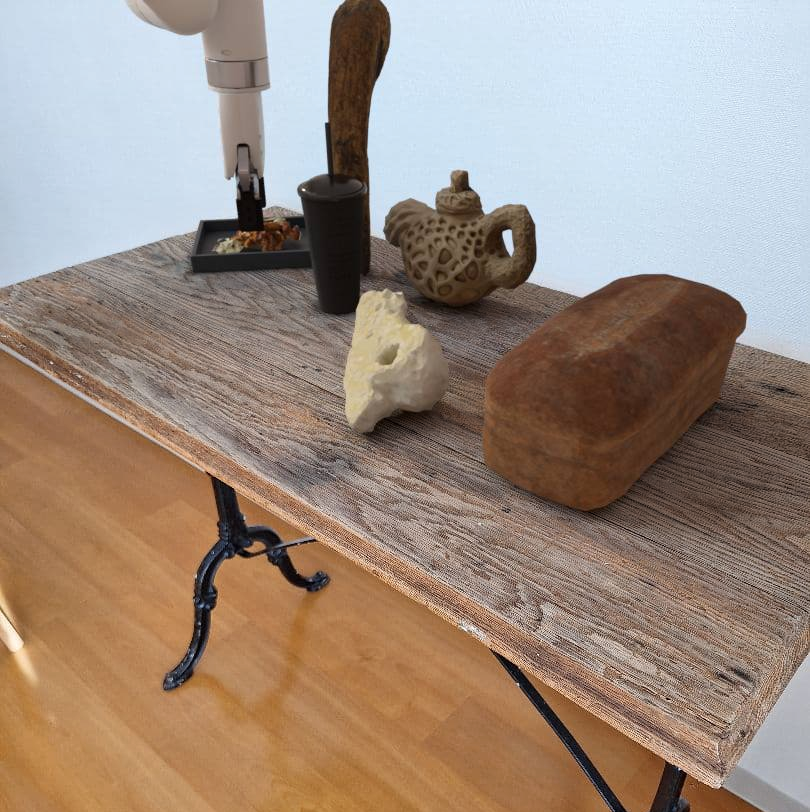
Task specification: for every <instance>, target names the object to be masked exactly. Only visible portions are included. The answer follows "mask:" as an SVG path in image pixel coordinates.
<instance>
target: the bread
mask: <svg viewBox="0 0 810 812" xmlns="http://www.w3.org/2000/svg"><path fill="white" fill-rule="evenodd" d="M747 319H748V314H747V312H746V310H745V309H744V306H743V305H742V303H741V302H740V301H739V300H738V299H736V298H735V297H733V296H732V295H730V294H729V293H727V292H726V291H723V290H721V289H719V288H716V287H715V286H712V285H709V284H705V283H702V282H698V281H694V280H691V279H687V278H683V277H680V276H675V275H671V274H668V273H642V274H641V273H640V274H634V275H630V276H625V277H624V276H623V277H619V278H617V279H614V280H613V281H611V282H609V283H607V284H606V285H604V286H602V287H601V288H599V289H597V290H594V291H592V292H591V293H588V294H587V295H585V296H582V297H581V298H579V299H578V300H576V301H575V302H572V303H571V304H569V305H568V306H567V307H565V308H563V309H562V310H560V312H558V313H557V314H555V315H554V316H552V317H551V318H550V319H548V320H547V321H546V322H544V323H543V324H542V325H541V326H540V327H539V328H537V329H536V330H535V331H534V332H532V333H531V334H530V335H529V336H527V337H526V338H525V339H524V340H523V341H521V342H520V343H519V344H518V345H516V346H515V347H514V348H512V349H511V350H509V351H508V352H507V353H505V354H504V355H503V356H501V357H500V359H498V360H497V361H496V362H495V363H494V365H493V367H491V369H490V370H489V372H488V375H487V377H486V380H485V382H484V420H483V424H482V425H483V426H482V430H481V448H482V449H481V450H482V457H483V463H484V465H486V466H487V467H488V468H489V469H490V470H491V471H493V473H495V474H497V475H498V476H500V477H502V478H503V479H505V480H507V481H508V482H510V483H512V484H513V485H515V486H517V487H519V488H521V489H523V490H524V491H527V492H529V493H531V494H533V495H535V496H538V497H540V498H543V499H545V500H548V501H551V502H554V503H556V504H560V505H562V506H565V507H568V508H572V509H576V510H580V511H585V512H589V511H590V510H594V509H599V508H605V507H607V506H608V505H610V504H611V503H613V502H614V501H616V500H617V499H619V498H620V497H622V496H624V495H625V494H626V493H627V492H628V491H629V489H631V487H632V486H633V485H634V484H635V482H637V480H638V479H639V478H640V477H641V476H642V475H643V474H644V473H645V472H646V471H647V469H649V468H650V467H651V466H652V465H653V464H654V463H655V462H656V461H657V460H658V459H659V458H660V457H661V456H662V455H664V454H665V453H666V452H667V451H668V450H669V449H670V448H671V447H672V446H673V445H674V444H675V443H676V442H677V441H678V440H679V439H680V438H681V437H682V436H683V435H684V434H685V433H686V432H687V431H688V430H689V428H691V426H692V425H693V424H694V423H695V421H697V419H699V417H701V416H702V414H704V413H705V412H706V411H707V410H708V409H709V408H710V407H711V406H712V405H713V404H715V402H716V401H717V400H718V398H719V396H720V394H721V392H722V389H723V386H724V383H725V379H726V376H727V372H728V369H729V365H730V363H731V358H732V356H733V352H734V350H735V347H736V342H737V339H739V337H740V336H741V335H742V334H743V333H744V331H746V328H747Z"/></svg>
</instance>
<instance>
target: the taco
mask: <svg viewBox="0 0 810 812" xmlns="http://www.w3.org/2000/svg"><path fill="white" fill-rule="evenodd" d="M271 217H272V218H269V219H267V220H265V219H264V230H263V231H258V232H241V231H238V232H237V235H234V236H233V237H232V238H231V239H230V238H223V239H219V240H218V244H219V245H215V247H214V249H213V251H216V252H218V253H219V254H221V253H239V252H240V250H241V249H242V248H243V247H246V248H248V247H250V248H251V247H254V246H258V245H262V251H263V252H265V251H272V250H273V251H277V250H281V249H282V248H283V244H282V243H283V241H284V240H285V239H288V237H290V238H292V239H293V240H294V241H298V240H300V237H301V235H302V234H301V232H300V230H299V229H298V228H299V227H298V226H297V225H296V226H297V227H298V228H296V226H294V227H295V228H293V229H291V228H290V223H289V222H286V219H285V218H284V217H285V216H283V215H278V216H271Z"/></svg>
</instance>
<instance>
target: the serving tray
mask: <svg viewBox="0 0 810 812" xmlns="http://www.w3.org/2000/svg"><path fill="white" fill-rule="evenodd" d="M272 217H273V216H263V219H265V220H267V219H269V218H272ZM283 217H284V218H285V219H286V222H289V223H290V228H291V229H293V228H295V227H294V226H296V225H297V226H298V227H299V228H298V227H297V226H296V228H298V229H299V230H300V232H301V234H302V235H301V237H300V240H298V241H294V240H293V239H292V238H290V237H288V239H285V240H284V241H283V243H282V244H283V248H282V249H281V250H277V251H273V250H272V251H265V252H263V251H262V245H258V246H254V247H251V248H250V247H248V248H246V247H243V248H242V249H241V250H240V252H239V253H221V254H219V253H218V252H216V251H213V249H214V247H215V245H219V244H218V240H219V239H223V238H230V239H231V238H232V237H233V236H234V235H237V232H238V231H240V230H239V223H238V218H219V219H216V218H215V219H200V220H199V223H198V227H197V231H196V234H195V238H194V242H193V246H192V249H191V253H190V263H191V269H192V273H204V272H207V273H208V272H226V271H227V272H228V271H229V272H230V271H242V270H243V271H246V270H247V271H249V270H267V269H268V270H269V269H291V268H309V267H312V261H311V255H310V249H309V243H308V238H307V232H306V226H305V220H304V215H288V216H285V215H284V216H283ZM312 268H313V267H312Z"/></svg>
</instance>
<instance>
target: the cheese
mask: <svg viewBox="0 0 810 812" xmlns="http://www.w3.org/2000/svg"><path fill="white" fill-rule="evenodd" d="M404 295H405V294H404V293H403V292H402V291H397V292H396V291H395V292H393V291H392V290H391V289H390V288H387V287H386V288H384V289H383V291H379V290H377V291H376V290H369V291H366V292H364V293H363V294H362V295H360V301H359V304H358V306H357V309H356V310H355V320H354V330H353V333H352V339H351V348H350V349H349V352H348V355H347V358H346V365H345V371H344V372H345V373H344V376H343V379H342V384H343V385H342V386H343V391H344V392H345V405H344V411H345V417H346V421H347V423H348V425H349V427H350V429H351V430H353V432H355V433H358V434H364V433H367V432H368V433H372V432H374V430H375V429H374V428H375V426H376V425H377V423H379V422H380V421H381V420H383V419H385V418H390V417H391V416H392V414H393V412H394V411H396V410H403V411H408V412H414V413H419V412H423V411H432V410H433V407H434V406H435V404H437V402H439V401H440V400H442V399H443V398H444V397H445V395H446V392H447V390H448V388H449V386H450V370H449V364H448V363H449V362H448V361H447V359H446V357H445V356H444V354H443V349H442V346H441V344H440V343H439V342H438V341H437V339H435V337H434V336H433V334H432V333H431V332H430V331H429V330H428V329H427V328H425V327H424V326H423V325H421V324H419V323H418V324H417V323H415V324H413V323H412V322H410V320H408V319H407V318H406V314H407V311H408V302H407V301H406V299H405V296H404Z"/></svg>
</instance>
